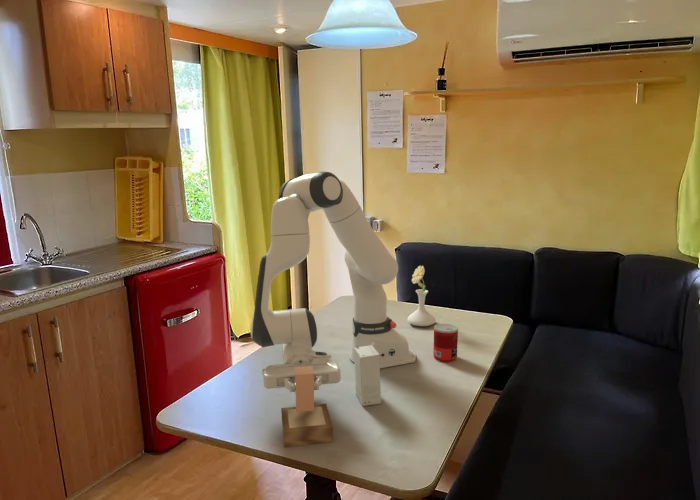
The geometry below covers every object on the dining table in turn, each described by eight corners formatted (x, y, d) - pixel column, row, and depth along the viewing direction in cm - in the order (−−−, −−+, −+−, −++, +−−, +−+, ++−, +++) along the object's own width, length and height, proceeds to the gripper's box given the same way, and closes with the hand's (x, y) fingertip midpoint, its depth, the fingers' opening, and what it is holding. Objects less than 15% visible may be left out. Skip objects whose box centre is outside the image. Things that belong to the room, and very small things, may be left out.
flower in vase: (407, 318, 219) (408, 260, 214) (435, 319, 218) (436, 260, 213) (406, 329, 207) (407, 267, 202) (435, 330, 205) (437, 268, 200)
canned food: (456, 363, 176) (458, 332, 173) (432, 361, 177) (433, 330, 175) (457, 354, 183) (458, 324, 181) (433, 352, 185) (434, 322, 182)
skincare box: (381, 404, 149) (381, 355, 146) (360, 406, 148) (360, 357, 145) (373, 390, 157) (373, 344, 154) (353, 393, 156) (353, 346, 153)
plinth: (326, 417, 143) (326, 403, 142) (332, 441, 131) (332, 426, 130) (281, 421, 141) (281, 407, 140) (284, 447, 129) (283, 431, 128)
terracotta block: (312, 401, 137) (311, 366, 135) (314, 410, 133) (313, 373, 131) (295, 403, 136) (294, 367, 134) (296, 412, 132) (295, 374, 130)
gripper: (261, 357, 143) (262, 380, 130) (335, 352, 147) (343, 373, 133) (262, 379, 145) (262, 403, 131) (336, 373, 148) (343, 396, 135)
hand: (304, 388), depth 132 cm, fingers closed on terracotta block, 4 cm apart
